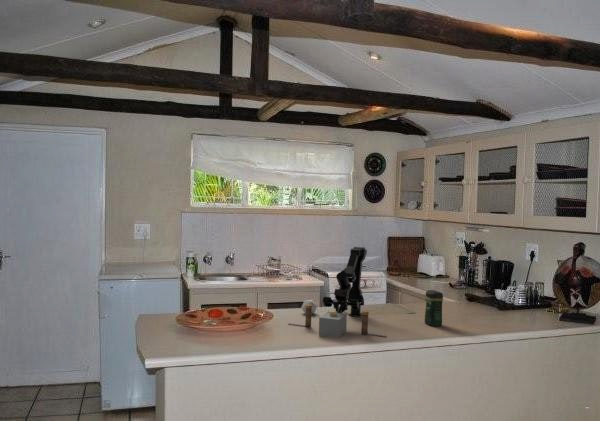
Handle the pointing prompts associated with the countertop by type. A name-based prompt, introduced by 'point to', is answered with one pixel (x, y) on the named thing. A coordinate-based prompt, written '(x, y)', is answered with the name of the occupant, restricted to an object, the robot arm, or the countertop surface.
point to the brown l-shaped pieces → (364, 321)
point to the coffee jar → (433, 308)
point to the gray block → (332, 324)
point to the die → (309, 302)
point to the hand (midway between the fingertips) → (337, 316)
